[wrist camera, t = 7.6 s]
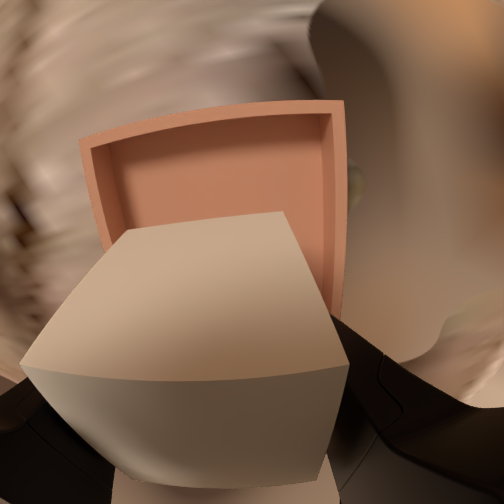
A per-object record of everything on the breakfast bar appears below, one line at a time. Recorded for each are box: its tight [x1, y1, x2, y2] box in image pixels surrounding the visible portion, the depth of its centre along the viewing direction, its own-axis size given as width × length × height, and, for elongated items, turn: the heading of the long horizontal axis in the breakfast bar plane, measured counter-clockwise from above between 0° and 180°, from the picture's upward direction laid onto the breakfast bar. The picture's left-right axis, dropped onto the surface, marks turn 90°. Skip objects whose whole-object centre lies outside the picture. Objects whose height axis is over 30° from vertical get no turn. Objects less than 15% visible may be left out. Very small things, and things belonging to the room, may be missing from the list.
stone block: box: [19, 211, 350, 488], centre depth 7 cm, size 5×5×6 cm
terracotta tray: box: [79, 100, 347, 320], centre depth 14 cm, size 12×12×2 cm
